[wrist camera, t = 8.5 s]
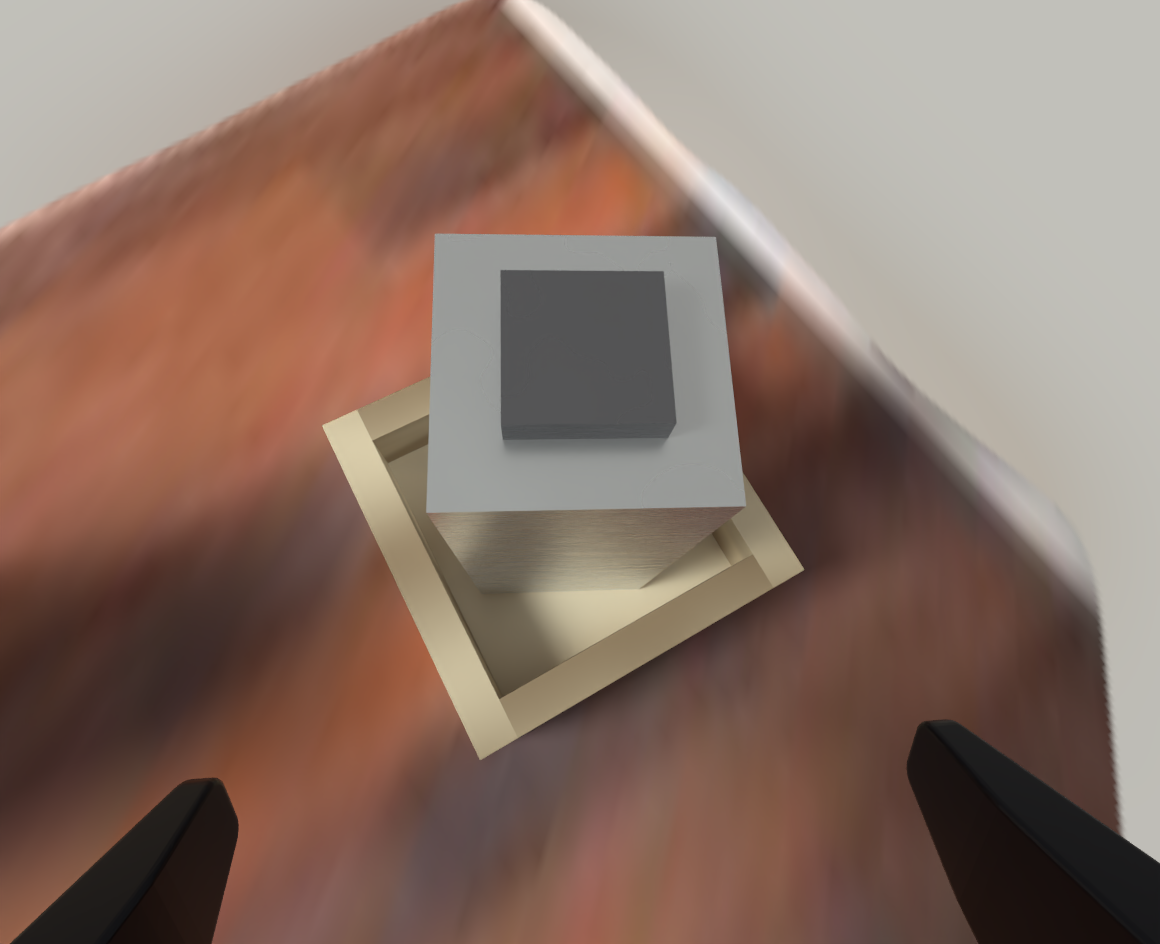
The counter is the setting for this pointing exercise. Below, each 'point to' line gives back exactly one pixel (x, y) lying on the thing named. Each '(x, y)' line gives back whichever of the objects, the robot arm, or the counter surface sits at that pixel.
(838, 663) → the counter surface
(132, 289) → the counter surface
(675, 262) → the socket block
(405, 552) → the cream square holder
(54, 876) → the counter surface
